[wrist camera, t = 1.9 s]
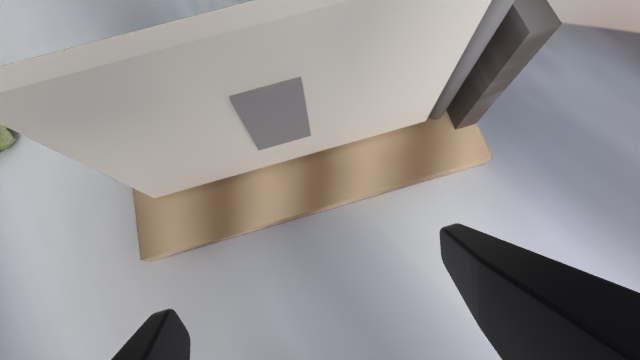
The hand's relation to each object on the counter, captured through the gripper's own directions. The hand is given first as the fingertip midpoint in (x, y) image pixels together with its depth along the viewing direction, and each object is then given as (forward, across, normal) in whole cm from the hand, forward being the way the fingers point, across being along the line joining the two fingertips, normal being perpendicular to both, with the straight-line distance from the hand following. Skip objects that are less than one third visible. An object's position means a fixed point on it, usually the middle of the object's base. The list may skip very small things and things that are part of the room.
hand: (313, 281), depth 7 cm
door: (+14, -1, +2) cm, 15 cm away
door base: (+16, -1, +4) cm, 16 cm away
